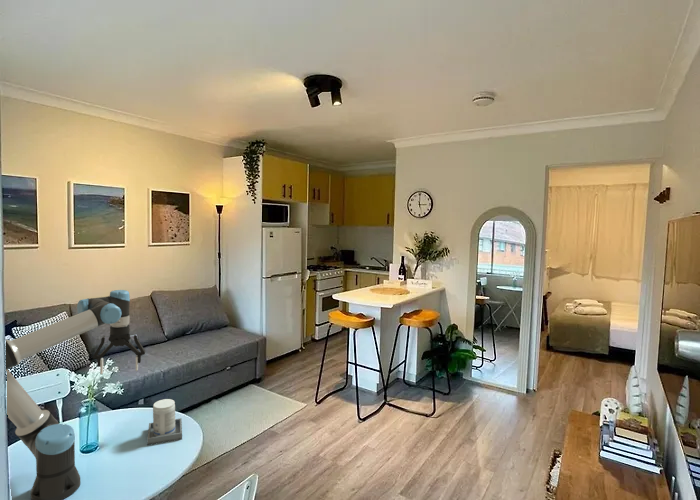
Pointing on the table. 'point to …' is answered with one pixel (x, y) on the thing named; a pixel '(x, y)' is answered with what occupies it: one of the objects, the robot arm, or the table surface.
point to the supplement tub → (164, 417)
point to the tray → (165, 438)
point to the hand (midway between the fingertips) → (119, 371)
